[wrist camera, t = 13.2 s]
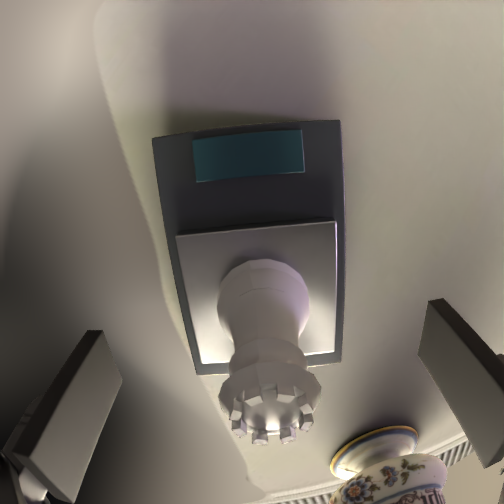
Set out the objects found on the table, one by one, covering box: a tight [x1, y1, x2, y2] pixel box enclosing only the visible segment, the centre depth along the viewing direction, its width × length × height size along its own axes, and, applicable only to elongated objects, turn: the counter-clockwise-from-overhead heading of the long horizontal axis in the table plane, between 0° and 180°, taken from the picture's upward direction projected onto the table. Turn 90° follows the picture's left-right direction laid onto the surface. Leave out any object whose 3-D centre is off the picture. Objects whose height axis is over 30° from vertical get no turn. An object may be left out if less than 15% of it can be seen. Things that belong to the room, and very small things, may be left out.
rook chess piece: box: [216, 259, 321, 445], centre depth 12 cm, size 4×4×8 cm
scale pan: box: [175, 217, 337, 363], centre depth 17 cm, size 8×8×1 cm
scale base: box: [152, 120, 346, 375], centre depth 18 cm, size 14×9×3 cm, turn 5°
